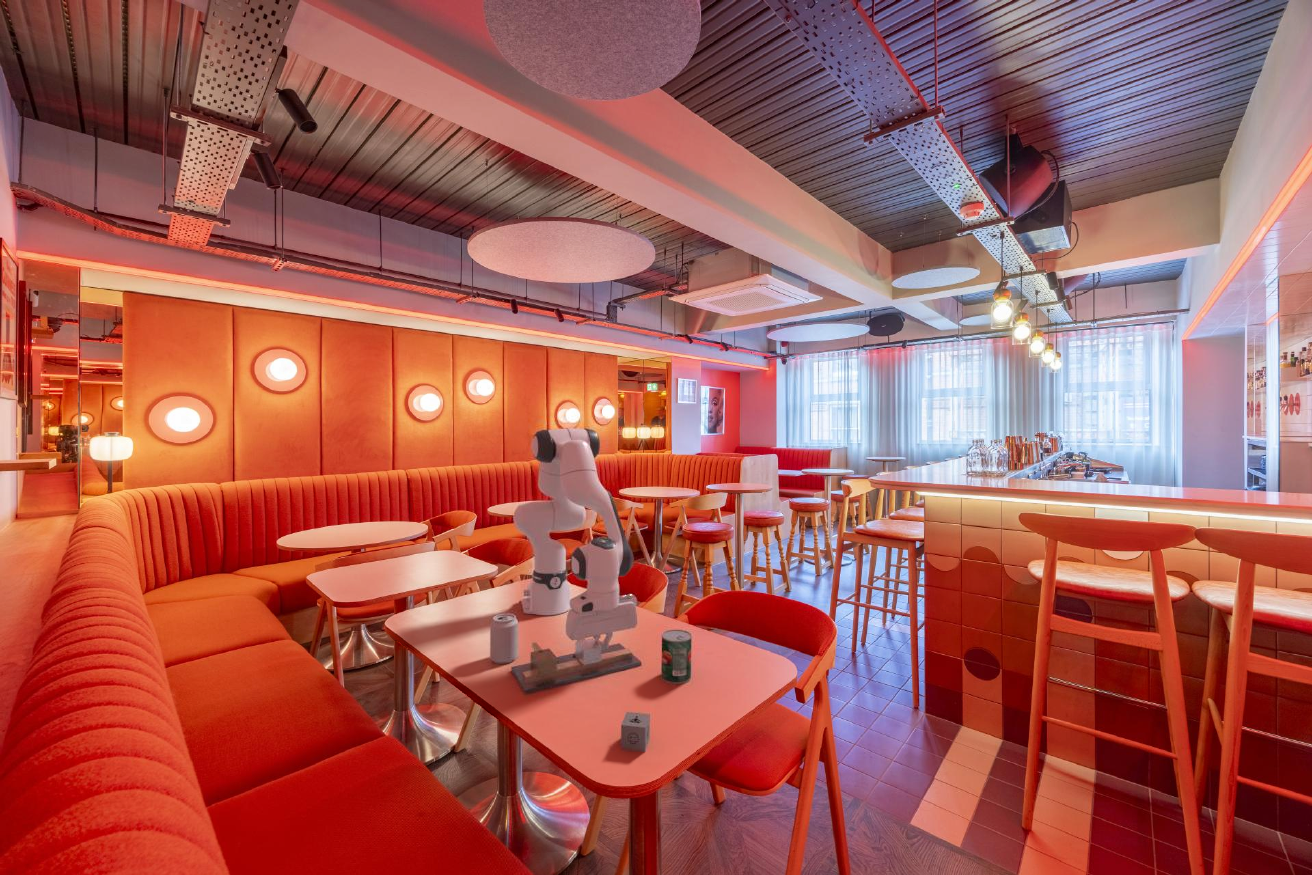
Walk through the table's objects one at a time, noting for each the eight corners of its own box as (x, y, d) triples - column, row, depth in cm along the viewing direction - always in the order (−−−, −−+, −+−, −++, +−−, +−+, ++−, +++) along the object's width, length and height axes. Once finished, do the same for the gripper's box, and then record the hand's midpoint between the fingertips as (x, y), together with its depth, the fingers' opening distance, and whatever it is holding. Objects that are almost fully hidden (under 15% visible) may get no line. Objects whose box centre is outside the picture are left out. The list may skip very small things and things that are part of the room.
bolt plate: (511, 670, 137) (511, 646, 137) (619, 646, 152) (619, 624, 152) (525, 694, 124) (525, 667, 124) (641, 665, 140) (641, 641, 140)
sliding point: (568, 653, 144) (568, 634, 144) (585, 650, 146) (585, 631, 146) (583, 670, 134) (583, 650, 134) (601, 666, 137) (601, 646, 136)
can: (509, 650, 149) (509, 609, 149) (522, 659, 144) (523, 616, 143) (485, 658, 144) (485, 616, 143) (498, 667, 138) (498, 623, 138)
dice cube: (620, 749, 103) (621, 724, 103) (626, 734, 108) (626, 711, 108) (645, 752, 103) (645, 727, 103) (649, 737, 108) (650, 714, 107)
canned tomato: (655, 675, 135) (655, 633, 135) (678, 666, 140) (678, 626, 140) (674, 687, 129) (674, 643, 128) (697, 678, 133) (697, 636, 133)
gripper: (631, 589, 148) (631, 637, 148) (563, 601, 138) (563, 652, 138) (641, 596, 142) (641, 645, 142) (572, 608, 132) (571, 661, 132)
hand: (602, 648), depth 140 cm, fingers closed
